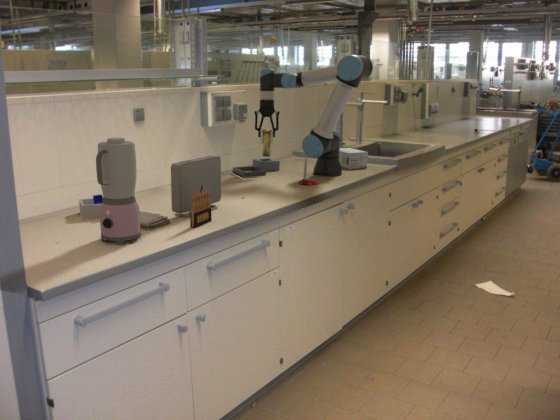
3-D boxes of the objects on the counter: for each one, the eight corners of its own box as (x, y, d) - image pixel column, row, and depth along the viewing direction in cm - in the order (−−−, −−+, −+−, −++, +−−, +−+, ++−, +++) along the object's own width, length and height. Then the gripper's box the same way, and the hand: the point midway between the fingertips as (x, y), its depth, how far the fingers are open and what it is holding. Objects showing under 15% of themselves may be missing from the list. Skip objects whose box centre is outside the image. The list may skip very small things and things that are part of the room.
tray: (265, 176, 283) (266, 171, 282) (244, 178, 278) (244, 172, 277) (253, 171, 297) (254, 166, 296) (232, 172, 292) (232, 167, 291)
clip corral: (135, 214, 206) (135, 201, 205) (83, 219, 198) (82, 205, 197) (130, 208, 215) (129, 195, 214) (79, 212, 207) (79, 199, 206)
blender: (117, 231, 184) (112, 135, 176) (148, 236, 180) (145, 137, 172) (85, 244, 170) (78, 140, 162) (118, 250, 166) (113, 143, 158)
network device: (185, 220, 200) (183, 165, 195) (166, 216, 204) (164, 162, 199) (225, 206, 222) (225, 156, 217) (207, 203, 226) (207, 154, 221)
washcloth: (150, 232, 186) (150, 223, 186) (110, 224, 194) (109, 216, 193) (172, 223, 197) (172, 215, 196) (133, 217, 204) (133, 208, 204)
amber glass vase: (272, 156, 297) (273, 130, 293) (264, 156, 295) (264, 130, 291) (269, 155, 301) (269, 129, 298) (260, 155, 299) (260, 129, 296)
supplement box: (331, 164, 326) (332, 148, 324) (349, 163, 332) (350, 147, 330) (348, 169, 312) (349, 152, 309) (367, 167, 318) (368, 151, 316)
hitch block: (279, 172, 297) (279, 160, 296) (260, 173, 293) (260, 161, 291) (271, 168, 307) (271, 157, 306) (252, 169, 303) (252, 158, 301)
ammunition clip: (194, 228, 190) (194, 194, 187) (190, 227, 191) (189, 193, 188) (211, 221, 200) (211, 188, 197) (207, 220, 201) (207, 187, 198)
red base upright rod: (306, 181, 275) (296, 183, 268) (307, 156, 273) (297, 157, 265) (320, 184, 271) (311, 186, 263) (322, 157, 268) (312, 159, 261)
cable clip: (121, 214, 204) (121, 199, 203) (110, 217, 201) (110, 200, 200) (104, 209, 212) (103, 193, 211) (93, 211, 209) (92, 195, 207)
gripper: (284, 99, 295) (283, 142, 300) (249, 98, 294) (249, 142, 300) (284, 99, 287) (283, 144, 293) (249, 99, 287) (249, 144, 292)
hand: (266, 143), depth 296 cm, fingers closed on amber glass vase, 5 cm apart
